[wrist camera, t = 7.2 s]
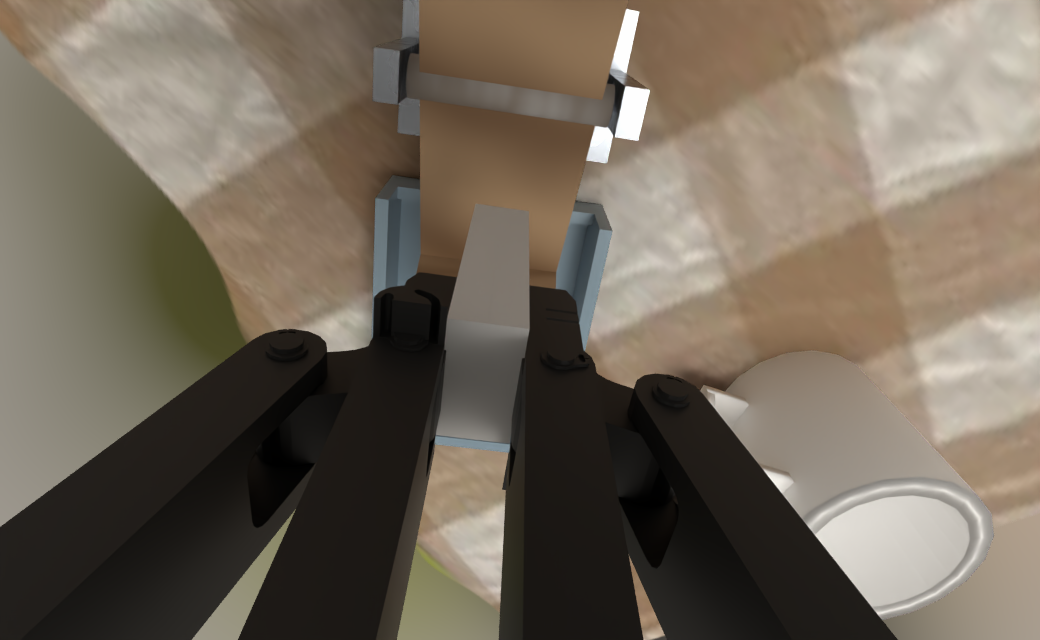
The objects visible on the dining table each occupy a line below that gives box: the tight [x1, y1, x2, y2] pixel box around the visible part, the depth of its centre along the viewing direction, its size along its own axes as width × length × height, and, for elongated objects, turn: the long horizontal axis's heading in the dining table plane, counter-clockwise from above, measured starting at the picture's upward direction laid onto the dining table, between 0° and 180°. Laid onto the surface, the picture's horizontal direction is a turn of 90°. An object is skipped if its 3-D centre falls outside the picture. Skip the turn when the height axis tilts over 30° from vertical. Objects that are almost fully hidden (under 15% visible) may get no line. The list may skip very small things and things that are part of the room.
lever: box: [406, 0, 629, 289], centre depth 21 cm, size 24×7×10 cm, turn 172°
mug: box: [700, 350, 994, 620], centre depth 33 cm, size 14×10×11 cm
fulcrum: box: [373, 0, 650, 163], centre depth 23 cm, size 6×9×10 cm, turn 82°
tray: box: [372, 175, 612, 453], centre depth 32 cm, size 14×11×4 cm
